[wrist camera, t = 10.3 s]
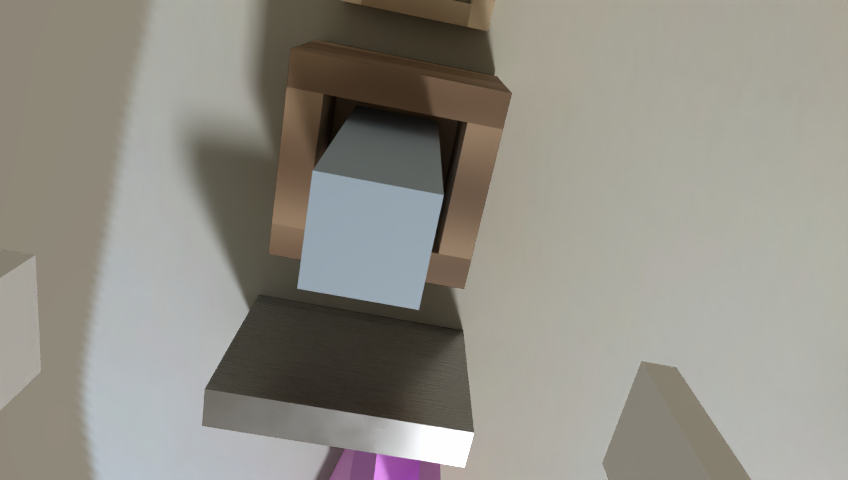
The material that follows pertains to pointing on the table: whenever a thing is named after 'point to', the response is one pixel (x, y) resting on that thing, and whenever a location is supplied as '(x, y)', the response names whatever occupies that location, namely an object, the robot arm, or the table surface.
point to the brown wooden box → (400, 93)
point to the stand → (439, 10)
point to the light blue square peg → (374, 209)
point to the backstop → (345, 382)
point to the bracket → (382, 467)
